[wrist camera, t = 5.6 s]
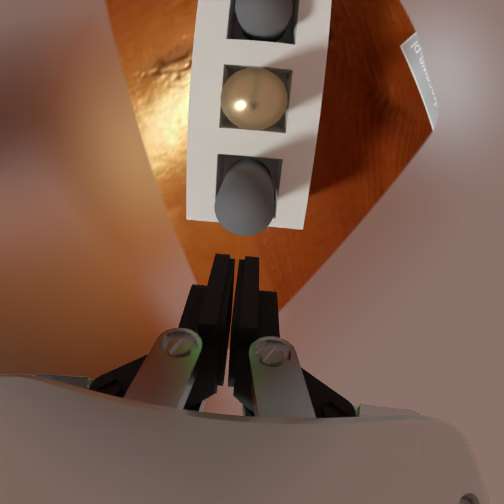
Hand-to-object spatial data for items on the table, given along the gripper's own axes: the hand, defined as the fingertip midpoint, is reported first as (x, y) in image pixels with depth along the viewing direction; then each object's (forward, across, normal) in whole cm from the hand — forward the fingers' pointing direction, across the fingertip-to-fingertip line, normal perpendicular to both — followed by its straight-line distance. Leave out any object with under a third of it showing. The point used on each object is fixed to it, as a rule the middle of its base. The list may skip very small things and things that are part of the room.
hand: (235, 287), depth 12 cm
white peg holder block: (+17, 0, -7) cm, 19 cm away
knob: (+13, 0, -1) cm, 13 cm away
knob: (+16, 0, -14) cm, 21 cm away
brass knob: (+13, 0, -7) cm, 15 cm away
